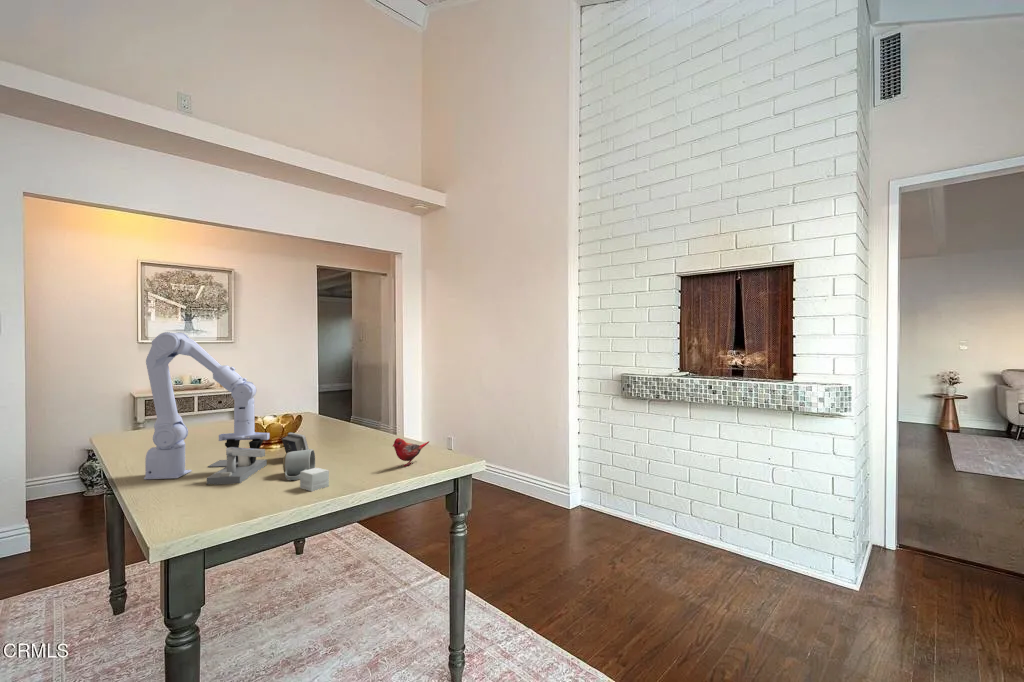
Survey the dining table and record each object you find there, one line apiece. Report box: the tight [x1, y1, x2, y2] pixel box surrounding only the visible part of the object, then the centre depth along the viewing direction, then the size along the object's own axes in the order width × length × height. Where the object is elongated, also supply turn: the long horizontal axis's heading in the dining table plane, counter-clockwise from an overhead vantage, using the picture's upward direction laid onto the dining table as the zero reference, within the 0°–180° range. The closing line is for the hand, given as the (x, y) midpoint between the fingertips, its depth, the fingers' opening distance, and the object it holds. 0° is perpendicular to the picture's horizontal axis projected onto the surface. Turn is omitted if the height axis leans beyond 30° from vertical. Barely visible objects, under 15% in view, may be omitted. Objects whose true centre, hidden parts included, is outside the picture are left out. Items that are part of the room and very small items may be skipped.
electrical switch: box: [281, 432, 310, 454], centre depth 165 cm, size 9×5×9 cm, turn 57°
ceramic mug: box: [282, 448, 316, 481], centre depth 145 cm, size 11×8×8 cm
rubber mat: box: [207, 459, 227, 468], centre depth 158 cm, size 8×8×1 cm
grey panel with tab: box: [206, 455, 268, 485], centre depth 146 cm, size 9×20×7 cm, turn 7°
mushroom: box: [238, 446, 251, 467], centre depth 150 cm, size 5×5×7 cm
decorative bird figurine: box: [391, 438, 430, 467], centre depth 159 cm, size 3×18×10 cm, turn 148°
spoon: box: [225, 447, 266, 458], centre depth 140 cm, size 3×12×2 cm, turn 78°
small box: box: [299, 467, 330, 492], centre depth 134 cm, size 6×6×5 cm
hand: (244, 462), depth 150 cm, fingers closed on mushroom, 5 cm apart
